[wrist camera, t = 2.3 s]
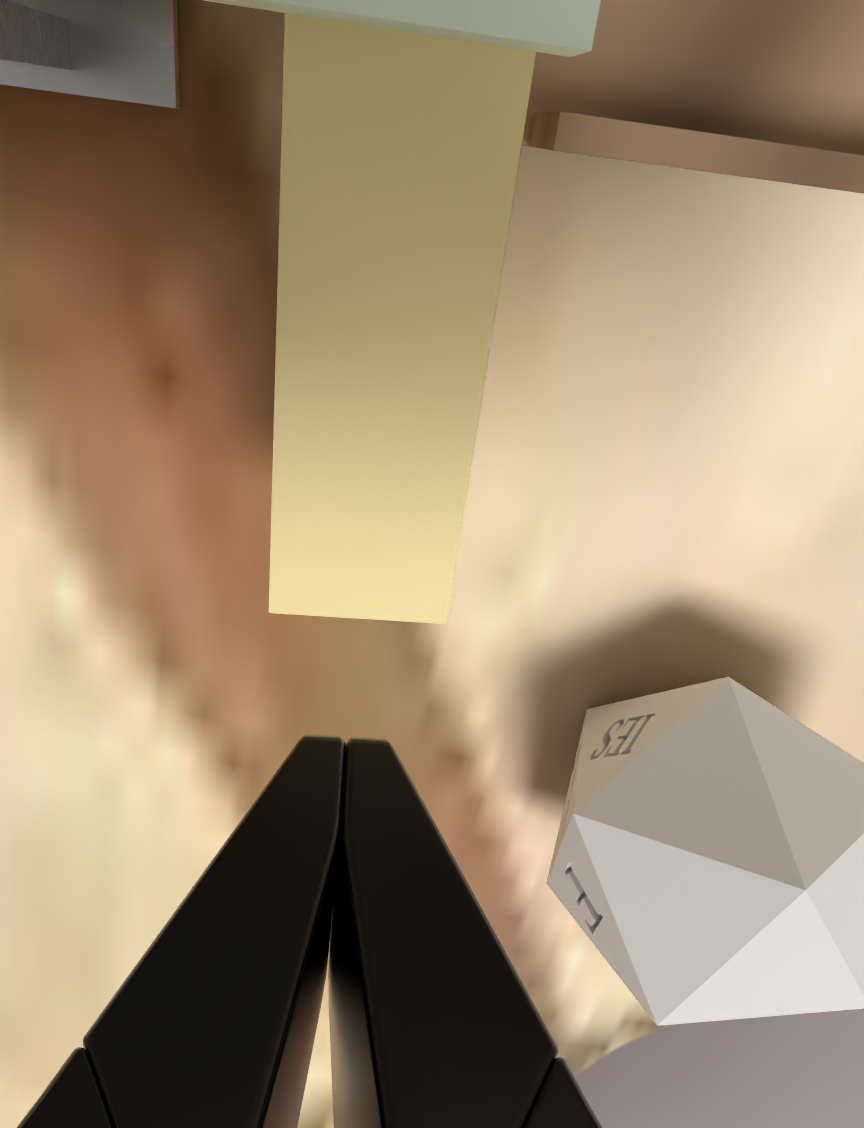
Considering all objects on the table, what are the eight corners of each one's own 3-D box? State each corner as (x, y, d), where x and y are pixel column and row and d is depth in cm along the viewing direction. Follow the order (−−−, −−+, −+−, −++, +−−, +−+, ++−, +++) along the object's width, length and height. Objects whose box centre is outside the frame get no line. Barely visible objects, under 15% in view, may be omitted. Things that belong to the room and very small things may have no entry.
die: (644, 559, 23) (499, 876, 17) (986, 686, 20) (951, 1112, 14) (594, 707, 29) (477, 972, 23) (846, 818, 27) (784, 1145, 21)
